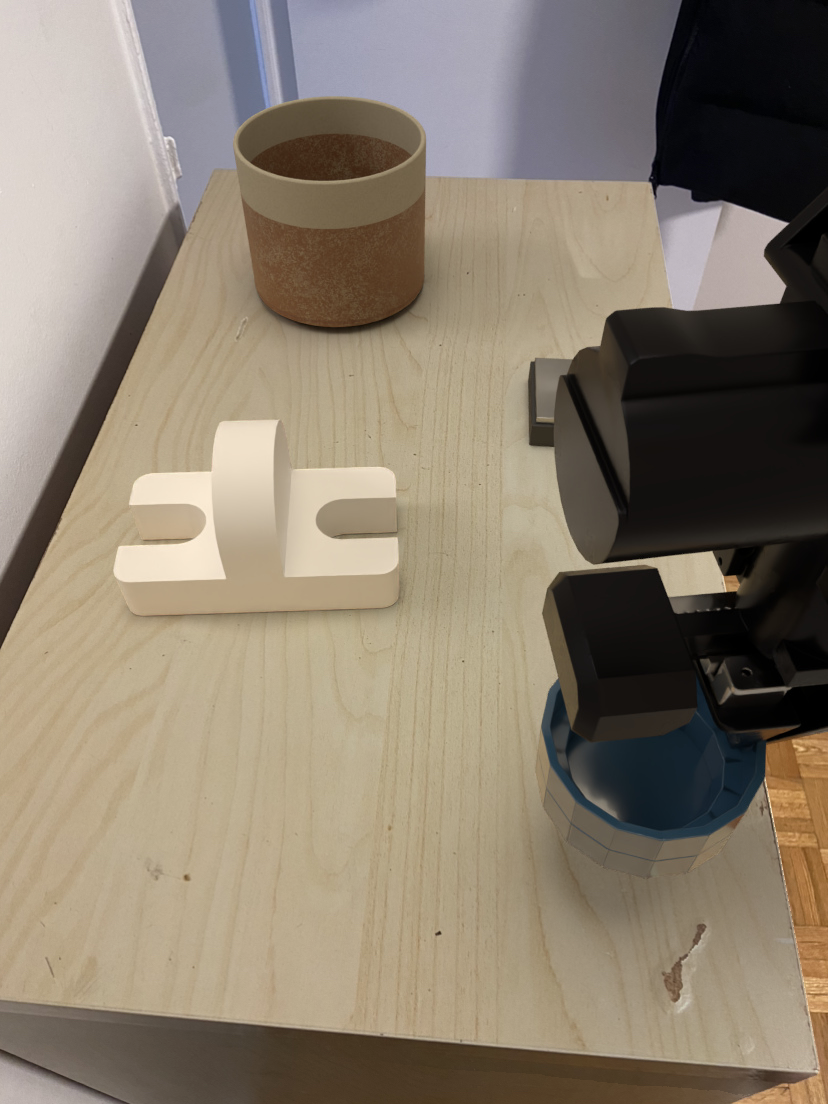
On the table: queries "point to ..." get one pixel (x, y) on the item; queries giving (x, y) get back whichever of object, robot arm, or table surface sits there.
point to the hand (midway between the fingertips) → (740, 737)
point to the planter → (334, 208)
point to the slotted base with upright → (260, 533)
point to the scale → (544, 397)
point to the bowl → (646, 791)
